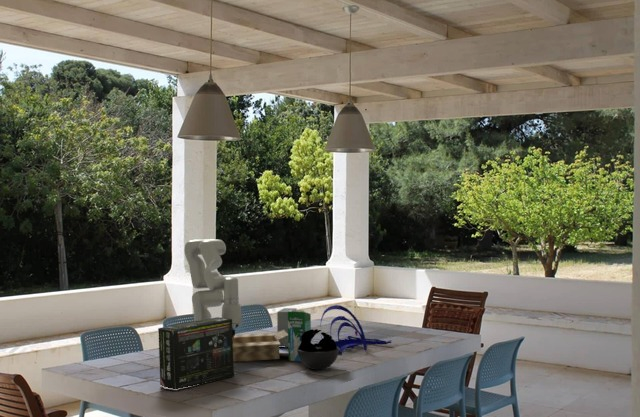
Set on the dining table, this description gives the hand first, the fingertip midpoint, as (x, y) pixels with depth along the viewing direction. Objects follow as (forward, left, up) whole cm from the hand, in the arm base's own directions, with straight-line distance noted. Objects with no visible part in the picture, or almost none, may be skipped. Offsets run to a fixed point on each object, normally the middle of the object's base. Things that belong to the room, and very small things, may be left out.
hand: (232, 337), depth 385 cm
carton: (+11, 0, -11) cm, 16 cm away
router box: (-19, -48, -11) cm, 53 cm away
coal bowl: (+38, -37, -11) cm, 54 cm away
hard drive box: (+32, +25, -11) cm, 42 cm away
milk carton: (+33, -13, -11) cm, 37 cm away
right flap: (+23, 0, -1) cm, 23 cm away
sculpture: (+63, +10, -11) cm, 65 cm away
